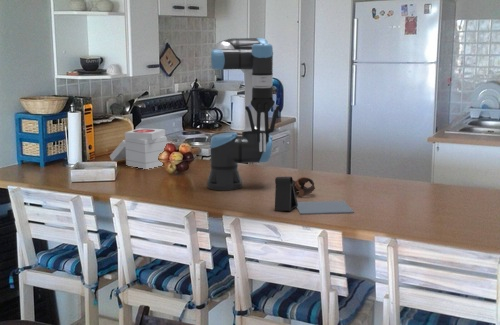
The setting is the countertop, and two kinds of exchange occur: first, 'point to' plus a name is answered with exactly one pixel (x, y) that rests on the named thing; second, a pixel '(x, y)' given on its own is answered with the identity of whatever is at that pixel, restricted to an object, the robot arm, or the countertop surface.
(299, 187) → the pottery mug
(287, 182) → the phone stand
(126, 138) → the pizza boxes
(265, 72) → the robot arm
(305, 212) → the slate mat
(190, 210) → the countertop surface
